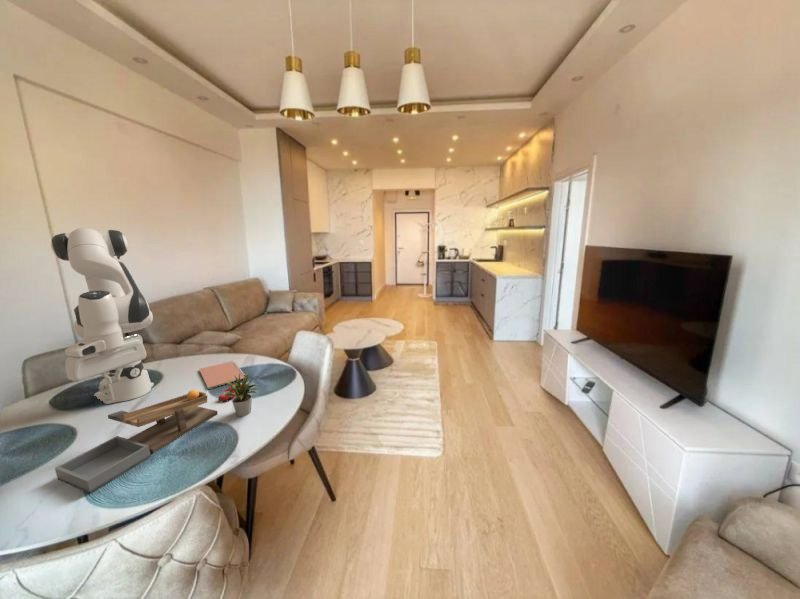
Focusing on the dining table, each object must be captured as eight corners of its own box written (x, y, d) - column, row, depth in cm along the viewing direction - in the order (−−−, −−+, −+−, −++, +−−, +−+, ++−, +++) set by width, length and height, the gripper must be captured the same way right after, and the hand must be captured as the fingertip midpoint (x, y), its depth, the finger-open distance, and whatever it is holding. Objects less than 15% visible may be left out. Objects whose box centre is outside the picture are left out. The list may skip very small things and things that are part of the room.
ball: (183, 400, 121) (185, 389, 122) (193, 398, 125) (195, 388, 125) (191, 402, 120) (192, 391, 120) (200, 400, 124) (202, 389, 124)
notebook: (247, 380, 156) (247, 376, 155) (208, 391, 145) (207, 387, 145) (234, 363, 176) (234, 360, 176) (199, 372, 166) (198, 368, 166)
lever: (107, 420, 107) (108, 407, 106) (178, 398, 129) (179, 387, 129) (139, 429, 101) (139, 416, 101) (207, 404, 124) (207, 393, 124)
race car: (225, 404, 133) (224, 395, 132) (215, 402, 135) (214, 393, 134) (250, 389, 145) (249, 381, 145) (241, 387, 147) (240, 379, 146)
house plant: (228, 429, 115) (222, 388, 112) (215, 415, 124) (209, 376, 121) (267, 413, 125) (262, 374, 122) (252, 401, 135) (247, 365, 131)
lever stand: (125, 444, 108) (120, 420, 106) (192, 408, 130) (188, 388, 128) (153, 453, 103) (148, 428, 101) (217, 414, 125) (214, 393, 123)
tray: (57, 479, 93) (54, 467, 92) (119, 446, 107) (117, 435, 106) (90, 493, 87) (87, 481, 87) (150, 456, 102) (148, 445, 101)
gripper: (134, 331, 112) (142, 368, 115) (57, 351, 93) (68, 395, 96) (146, 333, 110) (153, 370, 113) (70, 354, 91) (81, 398, 94)
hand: (114, 382), depth 104 cm, fingers closed
